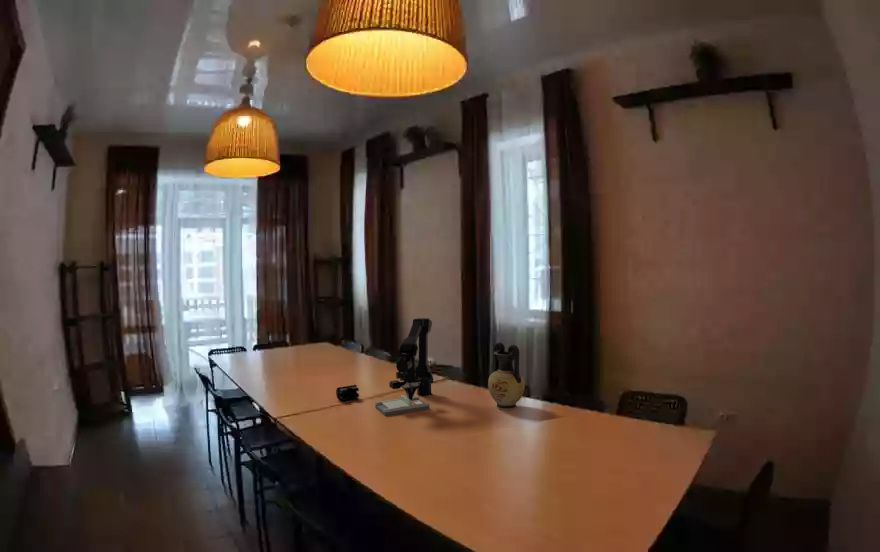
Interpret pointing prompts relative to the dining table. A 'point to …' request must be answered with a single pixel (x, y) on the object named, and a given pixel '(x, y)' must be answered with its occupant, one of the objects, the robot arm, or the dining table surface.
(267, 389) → the dining table surface
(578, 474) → the dining table surface
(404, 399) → the sage shutter
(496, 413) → the dining table surface
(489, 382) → the amphora
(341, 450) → the dining table surface
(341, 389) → the end cap
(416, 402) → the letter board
